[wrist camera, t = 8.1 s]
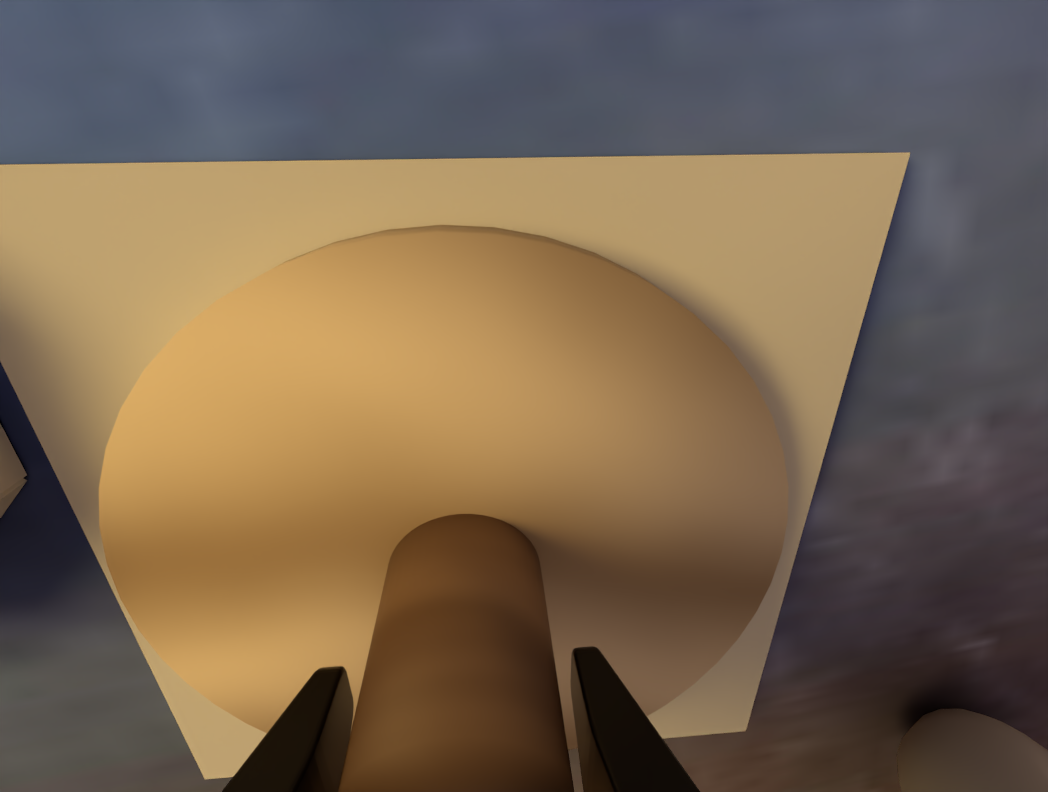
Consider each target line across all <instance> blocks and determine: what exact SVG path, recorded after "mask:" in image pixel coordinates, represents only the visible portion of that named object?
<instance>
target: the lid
mask: <svg viewBox="0 0 1048 792" xmlns="http://www.w3.org/2000/svg"><path fill="white" fill-rule="evenodd" d="M787 521H788V480H787V473H786V466H785V459H784V452H783V448H782V445H781V442H780V439H779V436H778V433H777V430H776V427H775V423H774V420H773V417H772V415H771V413H770V411H769V409H768V407H767V405H766V403H765V401H764V399H763V397H762V395H761V394H760V392H759V390H758V388H757V386H756V384H755V382H754V380H753V379H752V377H751V376H750V375H749V374H748V372H747V371H746V370H745V368H744V367H743V366H742V364H741V363H740V362H739V360H738V359H737V358H736V356H735V355H734V354H733V352H732V351H731V350H730V348H729V347H728V346H727V345H726V344H725V343H724V342H723V341H722V340H721V339H720V338H719V337H718V336H717V335H716V334H715V333H713V332H712V331H711V330H710V329H709V328H708V327H707V326H706V325H705V324H704V323H703V322H702V321H701V320H700V319H699V318H698V317H697V316H696V315H695V314H693V313H692V312H691V311H689V310H688V309H686V308H685V307H684V306H682V305H681V304H680V303H678V302H677V301H676V300H674V299H673V298H671V297H670V296H668V295H667V294H665V293H664V292H663V291H661V290H660V289H658V288H657V287H655V286H654V285H653V284H651V283H650V282H648V281H647V280H645V279H644V278H642V277H641V276H640V275H638V274H636V273H634V272H632V271H630V270H628V269H626V268H624V267H622V266H620V265H618V264H616V263H614V262H612V261H610V260H608V259H606V258H604V257H602V256H600V255H598V254H596V253H594V252H591V251H588V250H585V249H582V248H579V247H576V246H573V245H570V244H567V243H564V242H561V241H558V240H555V239H552V238H549V237H545V236H540V235H534V234H529V233H524V232H518V231H513V230H507V229H502V228H496V227H480V226H458V225H433V226H422V227H411V228H400V229H389V230H384V231H379V232H375V233H371V234H366V235H362V236H358V237H354V238H349V239H345V240H341V241H336V242H333V243H331V244H328V245H326V246H323V247H321V248H318V249H316V250H313V251H310V252H308V253H305V254H303V255H300V256H298V257H295V258H292V259H290V260H287V261H285V262H283V263H282V264H280V265H278V266H276V267H274V268H272V269H270V270H269V271H267V272H265V273H263V274H261V275H260V276H258V277H256V278H254V279H253V280H251V281H249V282H247V283H246V284H244V285H242V286H241V287H239V288H237V289H235V290H234V291H232V292H230V293H228V294H227V295H225V296H223V297H221V298H220V299H218V300H216V301H215V302H214V303H213V304H211V305H210V306H209V307H208V308H207V309H205V310H204V311H203V312H202V313H200V314H199V315H198V316H197V317H195V318H194V319H193V320H192V321H190V322H189V323H188V324H187V325H186V326H184V327H183V328H182V329H181V330H179V331H178V332H177V333H176V334H175V335H174V336H173V337H172V338H171V340H170V341H169V342H168V343H167V344H166V345H165V346H164V348H163V349H162V350H161V351H160V352H159V353H158V354H157V356H156V357H155V358H154V359H153V360H152V361H151V362H150V363H149V365H148V366H147V367H146V368H145V369H144V371H143V372H142V374H141V376H140V377H139V379H138V381H137V382H136V384H135V385H134V387H133V389H132V390H131V392H130V394H129V395H128V397H127V399H126V400H125V402H124V404H123V405H122V407H121V409H120V411H119V414H118V417H117V419H116V422H115V425H114V427H113V430H112V433H111V435H110V438H109V441H108V443H107V446H106V449H105V455H104V460H103V466H102V472H101V478H100V484H99V528H100V533H101V538H102V543H103V547H104V552H105V557H106V562H107V566H108V568H109V571H110V573H111V576H112V579H113V581H114V584H115V586H116V589H117V592H118V594H119V597H120V599H121V601H122V602H123V604H124V606H125V608H126V609H127V611H128V613H129V614H130V616H131V618H132V620H133V621H134V623H135V625H136V626H137V628H138V630H139V631H140V632H141V634H142V635H143V636H144V637H145V639H146V640H147V641H148V642H149V644H150V645H151V646H152V648H153V649H154V650H155V651H156V653H157V654H158V655H159V656H160V658H161V659H162V660H163V661H164V662H165V663H166V664H167V665H169V666H170V667H171V668H172V669H173V670H174V671H175V672H176V673H177V674H178V675H179V676H180V677H181V678H182V679H183V680H184V681H185V682H186V683H187V684H189V685H190V686H191V687H192V688H194V689H195V690H196V691H198V692H199V693H200V694H202V695H203V696H204V697H206V698H207V699H208V700H209V701H211V702H212V703H213V704H215V705H216V706H218V707H220V708H221V709H223V710H225V711H226V712H228V713H230V714H231V715H233V716H235V717H236V718H238V719H239V720H241V721H243V722H244V723H246V724H248V725H250V726H253V727H255V728H257V729H259V730H261V731H263V732H265V733H268V731H269V730H270V729H271V727H272V726H273V725H274V723H275V722H276V721H277V720H278V718H279V717H280V716H281V714H282V713H283V712H284V711H285V709H286V708H287V707H288V705H289V704H290V703H291V702H292V700H293V699H294V698H295V696H296V695H297V694H298V692H299V691H300V690H301V689H302V687H303V686H304V685H305V683H306V682H307V681H308V680H309V678H310V677H311V676H312V674H313V673H314V672H315V671H316V670H318V669H319V668H322V667H333V666H343V667H344V668H345V669H346V671H347V675H348V679H349V683H350V687H351V691H352V696H353V702H354V710H353V719H352V726H351V733H350V738H349V743H348V747H347V752H346V756H345V761H344V765H343V770H342V774H341V779H340V783H339V788H338V792H574V787H573V781H572V774H571V767H570V760H569V754H568V750H572V749H575V748H578V744H577V737H576V729H575V721H574V713H573V705H572V697H571V686H570V679H571V655H572V651H573V649H574V648H577V647H590V646H594V647H597V648H598V649H599V650H600V651H601V653H602V654H603V655H604V657H605V658H606V660H607V661H608V662H609V664H610V665H611V667H612V668H613V669H614V671H615V672H616V674H617V675H618V677H619V678H620V679H621V681H622V682H623V684H624V685H625V686H626V688H627V689H628V691H629V692H630V693H631V695H632V696H633V698H634V699H635V701H636V702H637V703H638V705H639V706H640V708H641V709H642V710H643V712H644V713H645V715H646V716H648V715H650V714H652V713H653V712H655V711H657V710H658V709H660V708H662V707H663V706H665V705H667V704H668V703H669V702H671V701H672V700H673V699H675V698H676V697H677V696H679V695H680V694H681V693H683V692H684V691H685V690H687V689H688V688H690V687H691V686H692V685H693V684H695V683H696V682H697V681H698V680H699V679H700V678H701V677H702V676H703V675H704V674H705V673H707V672H708V671H709V670H710V669H711V668H712V667H713V666H714V665H715V664H716V663H717V662H718V661H719V660H720V659H721V658H722V657H723V656H724V654H725V653H726V652H727V651H728V650H729V649H730V648H731V646H732V645H733V644H734V643H735V642H736V641H737V640H738V638H739V637H740V635H741V634H742V632H743V631H744V630H745V628H746V627H747V625H748V624H749V622H750V621H751V619H752V618H753V616H754V615H755V614H756V612H757V610H758V608H759V606H760V604H761V602H762V600H763V598H764V596H765V594H766V592H767V590H768V588H769V587H770V585H771V582H772V579H773V576H774V573H775V570H776V568H777V565H778V562H779V559H780V556H781V553H782V548H783V543H784V537H785V532H786V526H787Z"/></svg>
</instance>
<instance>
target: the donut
mask: <svg viewBox="0 0 1048 792" xmlns="http://www.w3.org/2000/svg"><path fill="white" fill-rule="evenodd" d="M897 767H898V777H899V783H900V789H901V792H1048V750H1047V749H1045V748H1044V747H1042V746H1041V745H1040V744H1038V743H1037V742H1035V741H1034V740H1032V739H1031V738H1030V737H1028V736H1027V735H1025V734H1024V733H1022V732H1020V731H1018V730H1016V729H1015V728H1013V727H1011V726H1009V725H1007V724H1005V723H1004V722H1002V721H999V720H996V719H994V718H991V717H988V716H986V715H983V714H979V713H975V712H972V711H968V710H964V709H938V710H936V711H933V712H930V713H928V714H925V715H923V716H922V717H921V718H920V719H919V720H918V721H917V722H916V723H915V724H914V725H913V726H912V727H911V728H910V729H909V731H908V732H907V733H906V734H905V735H904V736H903V738H902V740H901V743H900V746H899V749H898V752H897Z"/></svg>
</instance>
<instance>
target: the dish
mask: <svg viewBox="0 0 1048 792" xmlns="http://www.w3.org/2000/svg"><path fill="white" fill-rule="evenodd" d="M25 476H27V474H26V472H25V470H24V468H23V466H22V464H21V462H20V460H19V458H18V456H17V455H16V453H15V451H14V449H13V447H12V445H11V443H10V441H9V439H8V437H7V435H6V433H5V431H4V429H3V428H2V426H1V424H0V518H1V517H2V515H3V514H4V512H5V511H6V510H7V508H8V507H9V505H10V504H11V503H12V501H13V500H14V498H15V497H16V495H17V494H18V493H19V491H20V490H21V488H22V487H23V486H24V484H25V483H26V481H27V480H25V479H23V478H24V477H25Z"/></svg>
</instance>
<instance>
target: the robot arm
mask: <svg viewBox="0 0 1048 792" xmlns="http://www.w3.org/2000/svg"><path fill="white" fill-rule="evenodd" d="M570 686H571V697H572V705H573V713H574V721H575V729H576V737H577V744H578V752H579V760H580V768H581V776H582V784H583V790H584V792H700V791H699V789H698V788H697V787H696V785H695V784H694V782H693V781H692V780H691V778H690V777H689V775H688V774H687V773H686V771H685V770H684V768H683V767H682V765H681V764H680V763H679V761H678V760H677V758H676V757H675V756H674V754H673V753H672V751H671V750H670V749H669V747H668V746H667V744H666V743H665V741H664V740H663V739H662V737H661V736H660V734H659V733H658V732H657V730H656V729H655V727H654V726H653V725H652V723H651V722H650V720H649V719H648V717H647V716H646V715H645V713H644V712H643V710H642V709H641V708H640V706H639V705H638V703H637V702H636V701H635V699H634V698H633V696H632V695H631V693H630V692H629V691H628V689H627V688H626V686H625V685H624V684H623V682H622V681H621V679H620V678H619V677H618V675H617V674H616V672H615V671H614V669H613V668H612V667H611V665H610V664H609V662H608V661H607V660H606V658H605V657H604V655H603V654H602V653H601V651H600V650H599V649H598V648H597V647H594V646H590V647H577V648H574V649H573V651H572V655H571V679H570ZM353 710H354V702H353V696H352V691H351V687H350V683H349V679H348V675H347V671H346V669H345V668H344V667H343V666H333V667H322V668H319V669H318V670H316V671H315V672H314V673H313V674H312V676H311V677H310V678H309V680H308V681H307V682H306V683H305V685H304V686H303V687H302V689H301V690H300V691H299V692H298V694H297V695H296V696H295V698H294V699H293V700H292V702H291V703H290V704H289V705H288V707H287V708H286V709H285V711H284V712H283V713H282V714H281V716H280V717H279V718H278V720H277V721H276V722H275V723H274V725H273V726H272V727H271V729H270V730H269V731H268V733H267V734H266V735H265V736H264V738H263V739H262V740H261V742H260V743H259V744H258V745H257V747H256V748H255V749H254V751H253V752H252V753H251V754H250V756H249V757H248V758H247V760H246V761H245V762H244V763H243V765H242V766H241V767H240V769H239V770H238V771H237V773H236V774H235V775H234V776H233V778H232V779H231V780H230V782H229V783H228V784H227V785H226V787H225V788H224V789H223V791H222V792H338V788H339V783H340V779H341V774H342V770H343V765H344V761H345V756H346V752H347V747H348V743H349V738H350V733H351V726H352V719H353Z"/></svg>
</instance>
